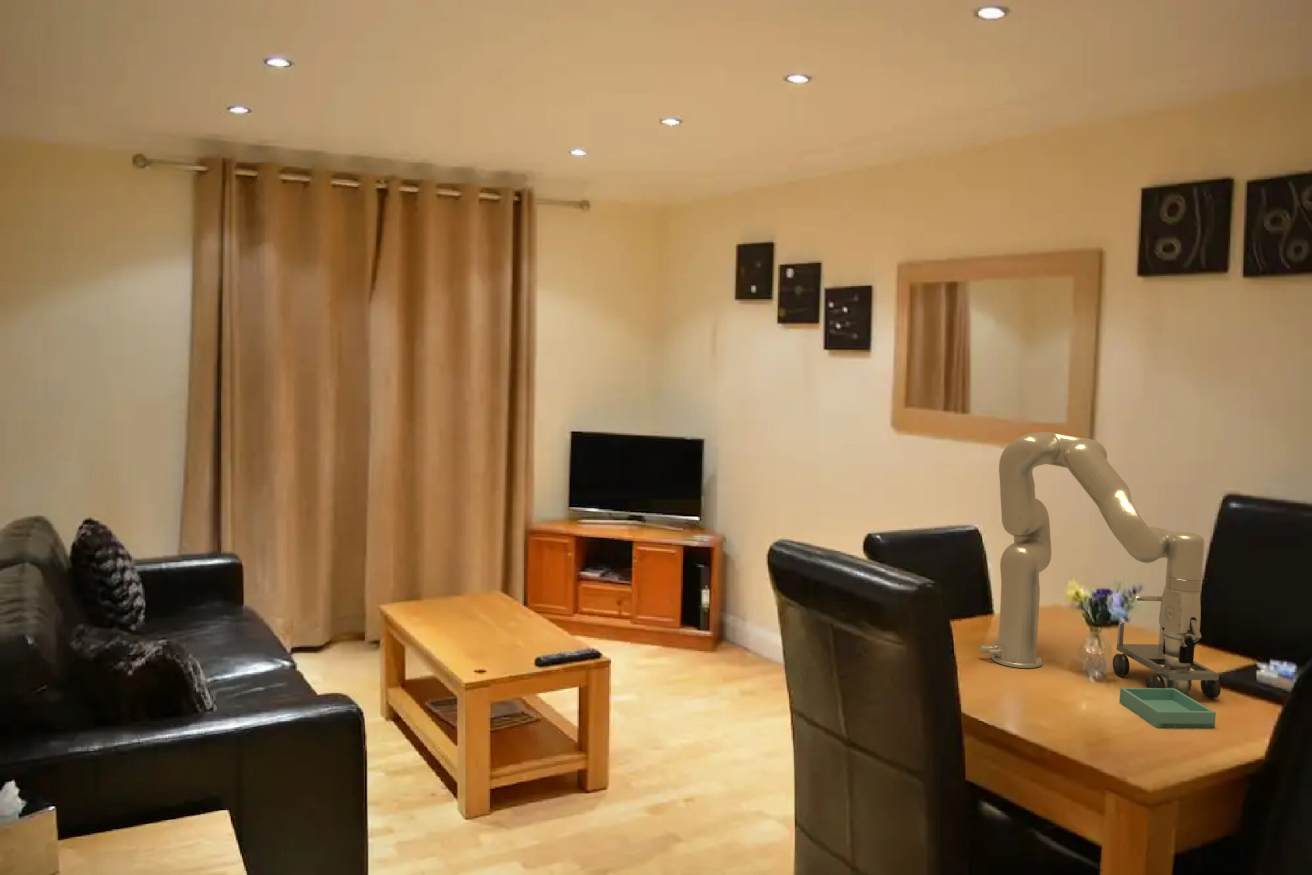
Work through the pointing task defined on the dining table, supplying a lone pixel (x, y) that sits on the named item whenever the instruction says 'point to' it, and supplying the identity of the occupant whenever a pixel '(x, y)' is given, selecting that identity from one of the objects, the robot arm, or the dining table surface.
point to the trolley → (1161, 662)
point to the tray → (1167, 708)
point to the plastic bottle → (1175, 661)
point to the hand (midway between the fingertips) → (1177, 657)
